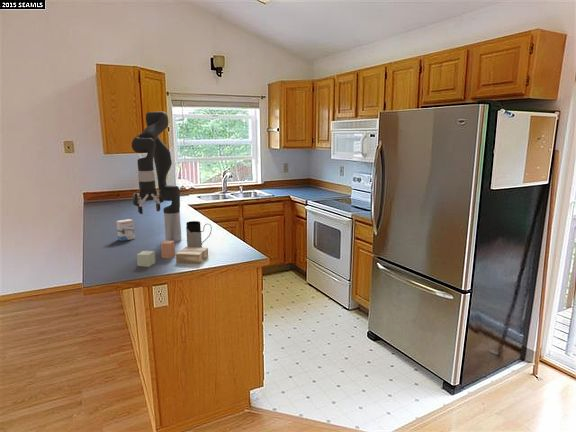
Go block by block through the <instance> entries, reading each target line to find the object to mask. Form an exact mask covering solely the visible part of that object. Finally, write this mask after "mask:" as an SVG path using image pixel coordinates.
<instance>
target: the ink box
mask: <svg viewBox="0 0 576 432" xmlns="http://www.w3.org/2000/svg"><path fill="white" fill-rule="evenodd" d="M134 224H135V223H134V219H131V218H128V219H127V218H126V219H120V220H116V232H117V234H116V235H117V240H118V241H120V242H125V241H129V240H130V241H131V240H134V239H136V236H135V227H134V226H135V225H134Z"/></svg>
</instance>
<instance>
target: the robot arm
mask: <svg viewBox="0 0 576 432" xmlns="http://www.w3.org/2000/svg"><path fill="white" fill-rule="evenodd" d="M169 122H170V121H169V117H168V114H167V112H165V111H148V112H146V113H145V123H146V127H145V128H144V129H143V131H142V132H141V133H139V134H138V135H136V136H135V137H134V138H133V139H132V141H131V149H132V150H133V152H135V153H136V154H139V153H140V154H147V155H146V156H144V157H140V158H138V159H137V171H138V172H137V175H138V176H137V178H138V190H139V192H137V193H136V192H133V193H132V202H133V203H132V204H133V206H134V207H135V206H136V207H137V211H138V213H139V214H140V215H144V214H143V213H144V212H143V204H144V203H145V202H148V201H154V202H155V210H156V212H161V211H160V210H161V204H162V203H164V202H171V203H170V204H169V205H167V206H165V207H163V209H162V210H163V220H164V221H163V222H164V224H163V225H164V237H165V238H164V241H165V240H167V241H175V242H176V243H177V242H180V241H181V240H182V225H181V224H182V223H181V211H180V208H181V191H180V187H179V186H178V185H175V184H174V185H173V184H167V176H168V173H169V172H170V170H171V167H172V156H171V151H170V149H169V148H168V147H167V146H166V144H165V143H164V142H163V141H162V139H160V137H159V136H160V135H161V134H162V133H163V132H164V131H165V130H166V129H168V127H169ZM154 165H155V167H154ZM154 168H155V170H156V176H157V184H158V185H157V186H158V187H157V188H158V190H156V176H155V170H154ZM156 195H158V198H157V197H156ZM139 197H140V198H139ZM138 198H139V200H138Z"/></svg>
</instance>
